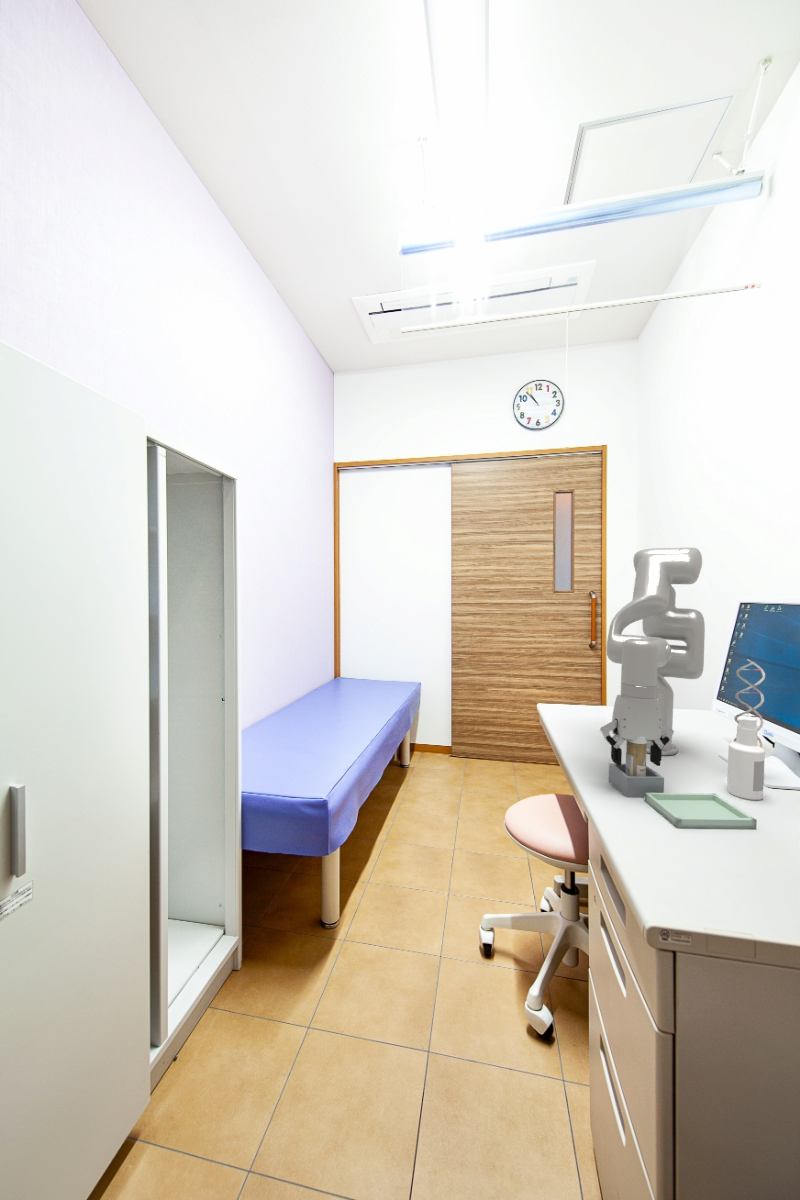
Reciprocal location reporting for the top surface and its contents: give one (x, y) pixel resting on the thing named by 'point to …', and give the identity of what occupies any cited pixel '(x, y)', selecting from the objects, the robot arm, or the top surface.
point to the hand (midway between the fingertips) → (635, 763)
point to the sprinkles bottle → (636, 757)
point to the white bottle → (746, 762)
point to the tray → (699, 811)
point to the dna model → (752, 693)
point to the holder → (635, 781)
